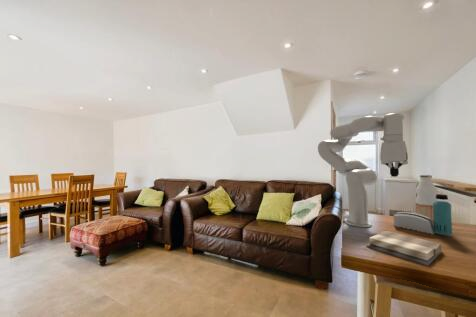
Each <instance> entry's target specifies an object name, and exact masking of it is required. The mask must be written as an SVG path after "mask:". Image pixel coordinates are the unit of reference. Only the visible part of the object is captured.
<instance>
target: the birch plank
mask: <svg viewBox="0 0 476 317" xmlns="http://www.w3.org/2000/svg"><path fill="white" fill-rule="evenodd" d="M368 239H369V242H368V244H369V243H370V244H373V245H376V246H380V247H383V248H386V249H390V250H393V251H397V252H400V253H403V254H407V255H410V256H414V257H417V258H420V259H424V260H429V259H430V258H431V257H432V256H434V249H433V248H429V247H425V246H421V245H417V244H413V243H410V242H406V241H402V240H398V239H394V238H390V237H386V236H382V235H378V234H377V233H376V234H375V235H372V236H370V237H369V238H368Z"/></svg>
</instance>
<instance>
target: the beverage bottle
mask: <svg viewBox="0 0 476 317" xmlns="http://www.w3.org/2000/svg"><path fill="white" fill-rule="evenodd" d="M436 199H438V201H435V202H434V203H433V214H434V219H433V220H434V221H433V223H434V225H433V226H434V233H436V234H439V235H443V236H452V235H453V222H452V204H451V203H449V202H448V201H447V200H449V198H448V195H447V194H444V193H443V194H442V193H439V194H436Z"/></svg>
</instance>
